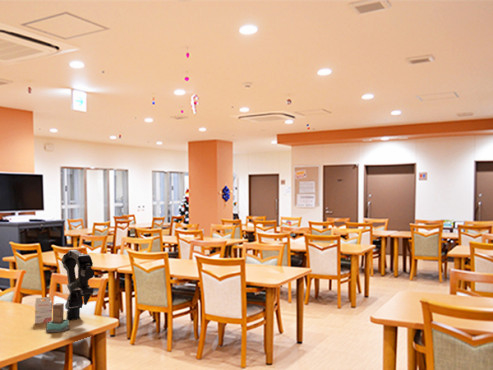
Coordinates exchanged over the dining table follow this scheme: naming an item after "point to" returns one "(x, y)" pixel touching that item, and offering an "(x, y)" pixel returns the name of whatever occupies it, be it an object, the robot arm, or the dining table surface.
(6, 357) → the dining table surface
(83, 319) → the dining table surface
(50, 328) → the teal square tray
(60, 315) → the rail post
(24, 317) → the dining table surface
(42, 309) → the ink cartridge box
